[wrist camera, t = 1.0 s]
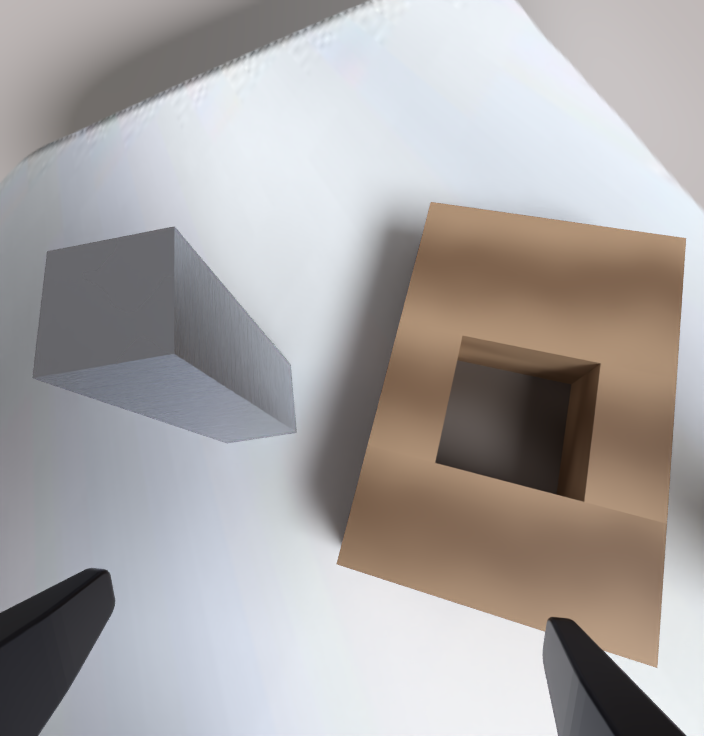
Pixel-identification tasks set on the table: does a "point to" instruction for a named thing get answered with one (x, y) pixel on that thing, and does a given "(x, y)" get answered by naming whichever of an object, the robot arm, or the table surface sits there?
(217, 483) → the table surface
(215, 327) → the grey rectangular block
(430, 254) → the bore block
